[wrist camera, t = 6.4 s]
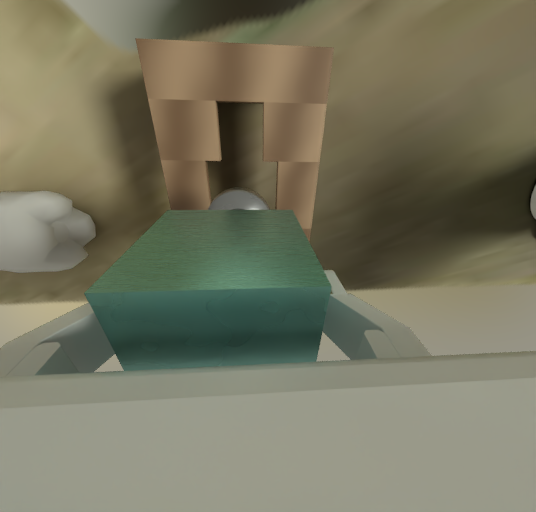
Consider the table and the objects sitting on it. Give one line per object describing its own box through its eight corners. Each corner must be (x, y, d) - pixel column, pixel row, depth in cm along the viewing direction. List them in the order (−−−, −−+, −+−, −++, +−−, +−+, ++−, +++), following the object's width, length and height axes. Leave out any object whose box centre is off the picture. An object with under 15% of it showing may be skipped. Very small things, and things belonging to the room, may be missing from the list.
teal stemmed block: (277, 181, 15) (331, 286, 5) (275, 250, 18) (306, 407, 8) (197, 181, 15) (84, 293, 5) (207, 251, 17) (148, 417, 7)
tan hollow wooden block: (309, 72, 23) (333, 47, 16) (296, 217, 31) (309, 243, 24) (172, 66, 22) (135, 38, 15) (195, 218, 30) (178, 245, 23)
